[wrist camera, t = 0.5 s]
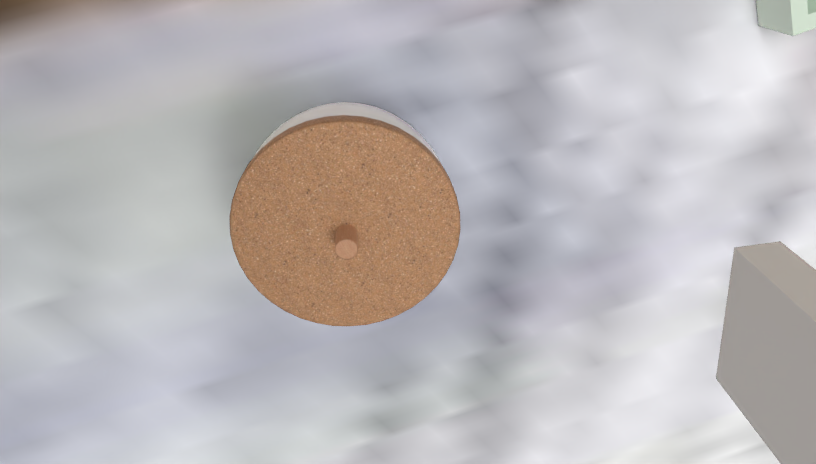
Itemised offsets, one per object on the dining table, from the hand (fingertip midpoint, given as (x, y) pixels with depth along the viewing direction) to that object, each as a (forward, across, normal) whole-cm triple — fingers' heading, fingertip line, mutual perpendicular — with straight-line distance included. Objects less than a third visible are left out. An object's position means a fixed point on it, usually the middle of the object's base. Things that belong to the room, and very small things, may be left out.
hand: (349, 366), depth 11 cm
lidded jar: (+26, -1, -7) cm, 27 cm away
